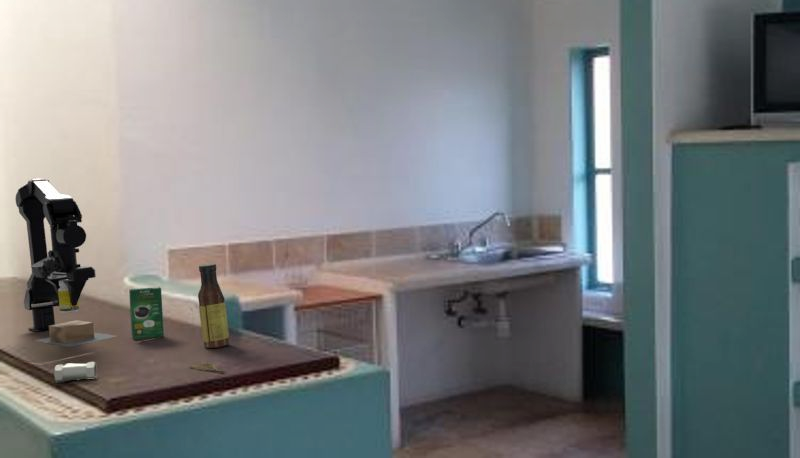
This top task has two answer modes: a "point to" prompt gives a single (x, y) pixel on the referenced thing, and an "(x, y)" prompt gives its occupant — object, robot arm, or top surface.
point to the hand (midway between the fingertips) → (68, 305)
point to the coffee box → (146, 313)
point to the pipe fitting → (75, 371)
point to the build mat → (96, 338)
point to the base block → (71, 331)
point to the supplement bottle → (65, 299)
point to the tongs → (208, 368)
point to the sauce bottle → (212, 309)
